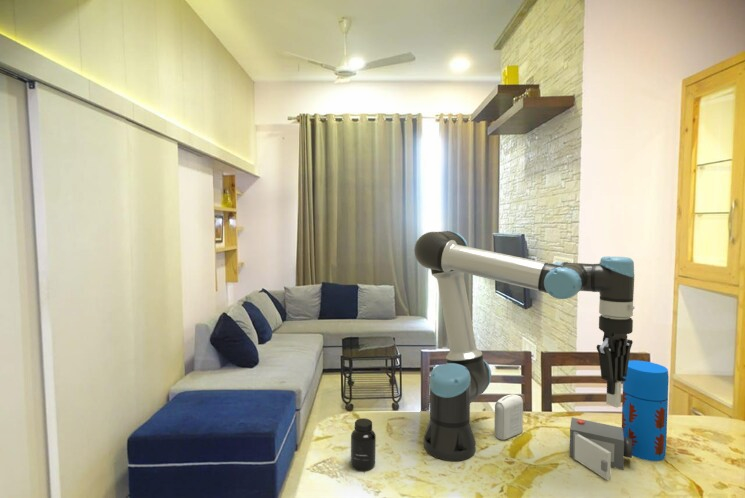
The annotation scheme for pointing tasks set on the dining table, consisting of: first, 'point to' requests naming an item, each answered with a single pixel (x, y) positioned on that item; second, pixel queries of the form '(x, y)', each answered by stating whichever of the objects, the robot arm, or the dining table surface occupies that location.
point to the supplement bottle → (363, 445)
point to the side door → (591, 455)
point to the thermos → (646, 409)
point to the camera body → (603, 439)
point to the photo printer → (508, 416)
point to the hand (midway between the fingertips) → (613, 404)
